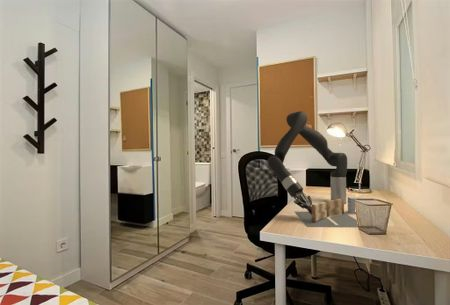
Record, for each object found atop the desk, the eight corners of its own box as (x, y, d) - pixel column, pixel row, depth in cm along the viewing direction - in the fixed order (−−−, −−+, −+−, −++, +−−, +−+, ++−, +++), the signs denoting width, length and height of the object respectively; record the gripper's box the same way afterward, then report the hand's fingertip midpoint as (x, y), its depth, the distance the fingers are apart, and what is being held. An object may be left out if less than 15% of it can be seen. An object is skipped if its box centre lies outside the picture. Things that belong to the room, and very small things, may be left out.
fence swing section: (323, 216, 116) (323, 200, 116) (327, 216, 115) (326, 201, 115) (311, 221, 108) (310, 205, 108) (314, 222, 106) (314, 205, 106)
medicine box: (362, 212, 124) (362, 197, 124) (366, 214, 120) (366, 198, 120) (347, 212, 125) (347, 197, 125) (351, 214, 121) (350, 198, 121)
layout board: (294, 212, 127) (294, 211, 127) (342, 212, 125) (342, 211, 125) (307, 227, 101) (307, 226, 101) (369, 228, 99) (369, 227, 99)
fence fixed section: (327, 217, 115) (326, 200, 115) (323, 216, 117) (323, 200, 117) (344, 213, 121) (344, 198, 121) (341, 213, 123) (341, 197, 123)
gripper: (289, 183, 113) (311, 212, 104) (303, 180, 121) (325, 207, 112) (280, 191, 117) (301, 220, 108) (294, 189, 126) (315, 215, 116)
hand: (313, 213), depth 110 cm, fingers closed
